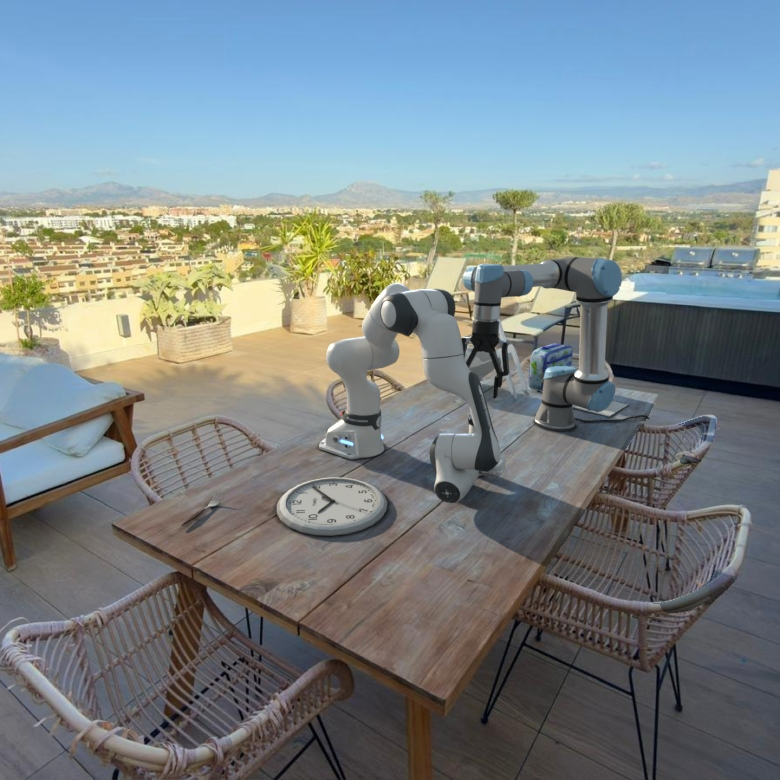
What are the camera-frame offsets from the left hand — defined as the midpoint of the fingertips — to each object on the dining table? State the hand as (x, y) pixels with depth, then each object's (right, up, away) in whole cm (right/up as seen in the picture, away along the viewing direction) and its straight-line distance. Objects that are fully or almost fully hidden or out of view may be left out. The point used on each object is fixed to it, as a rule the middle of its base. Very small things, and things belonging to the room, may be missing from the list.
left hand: (477, 451), depth 163 cm
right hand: (0, +18, -6) cm, 19 cm away
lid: (0, +11, -4) cm, 11 cm away
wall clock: (-43, -12, -20) cm, 49 cm away
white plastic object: (+15, +18, +81) cm, 84 cm away
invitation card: (+64, +12, +64) cm, 91 cm away
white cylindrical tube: (0, -7, +1) cm, 7 cm away
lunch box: (+49, +20, +89) cm, 104 cm away
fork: (-77, -13, -25) cm, 82 cm away
